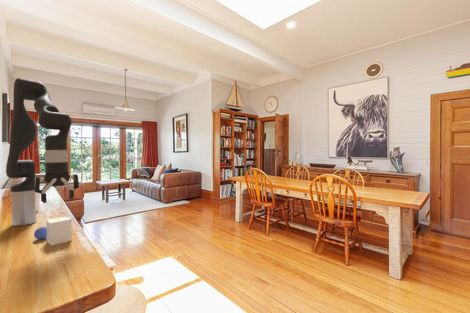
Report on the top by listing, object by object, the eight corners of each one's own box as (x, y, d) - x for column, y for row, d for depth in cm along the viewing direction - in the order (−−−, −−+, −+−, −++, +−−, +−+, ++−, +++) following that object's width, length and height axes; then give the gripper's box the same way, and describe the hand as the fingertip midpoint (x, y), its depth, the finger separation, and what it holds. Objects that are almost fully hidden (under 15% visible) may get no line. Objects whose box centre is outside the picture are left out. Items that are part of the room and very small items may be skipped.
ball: (33, 239, 97) (32, 227, 96) (48, 236, 100) (47, 224, 100) (35, 242, 93) (35, 230, 93) (51, 238, 97) (50, 226, 97)
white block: (46, 241, 94) (46, 220, 94) (67, 236, 99) (66, 216, 99) (50, 245, 89) (50, 223, 89) (71, 240, 94) (71, 219, 94)
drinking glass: (32, 213, 142) (31, 189, 141) (23, 212, 143) (22, 188, 143) (43, 210, 148) (42, 187, 148) (35, 210, 150) (34, 187, 149)
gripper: (74, 160, 101) (75, 197, 102) (32, 162, 91) (33, 203, 91) (80, 160, 97) (81, 199, 97) (35, 162, 86) (37, 205, 86)
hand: (58, 201), depth 94 cm, fingers open, 8 cm apart
